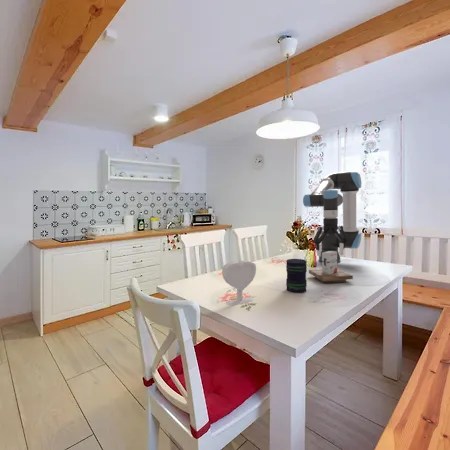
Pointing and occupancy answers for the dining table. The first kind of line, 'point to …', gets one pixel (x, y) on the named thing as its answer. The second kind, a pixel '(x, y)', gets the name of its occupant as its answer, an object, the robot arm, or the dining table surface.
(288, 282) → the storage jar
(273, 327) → the dining table surface
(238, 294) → the heart sculpture
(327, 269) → the ink box
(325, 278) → the walnut stand
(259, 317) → the dining table surface
